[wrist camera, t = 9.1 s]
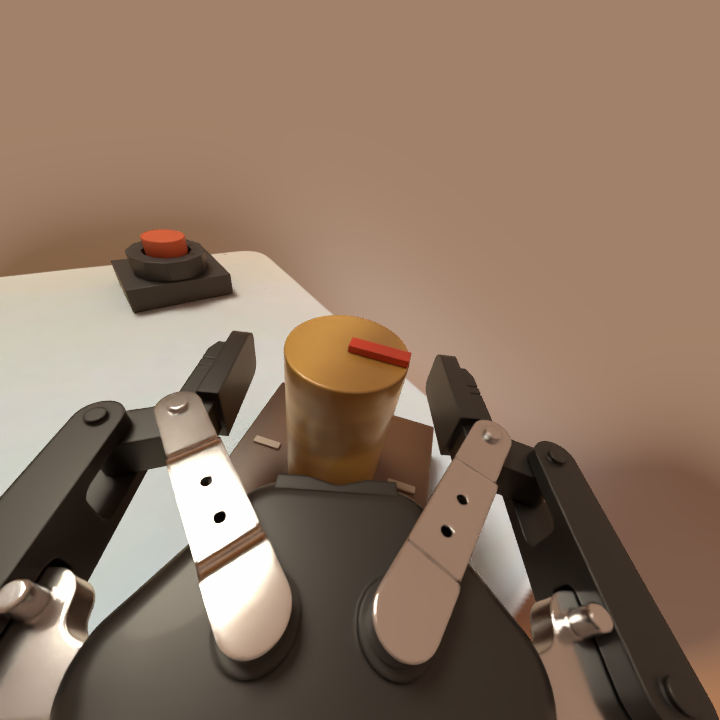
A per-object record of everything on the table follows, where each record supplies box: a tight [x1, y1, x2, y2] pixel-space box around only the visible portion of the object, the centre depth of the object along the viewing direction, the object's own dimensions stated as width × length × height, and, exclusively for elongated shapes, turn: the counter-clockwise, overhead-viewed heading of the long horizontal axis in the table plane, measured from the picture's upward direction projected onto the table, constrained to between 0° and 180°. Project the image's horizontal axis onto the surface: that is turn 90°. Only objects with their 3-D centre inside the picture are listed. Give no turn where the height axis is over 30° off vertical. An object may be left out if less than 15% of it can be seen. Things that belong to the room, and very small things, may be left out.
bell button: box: [140, 230, 189, 258], centre depth 28 cm, size 4×4×2 cm
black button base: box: [111, 240, 233, 312], centre depth 30 cm, size 9×7×4 cm
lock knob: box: [284, 315, 411, 485], centre depth 13 cm, size 4×4×8 cm
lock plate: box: [229, 382, 434, 508], centre depth 16 cm, size 10×9×3 cm
